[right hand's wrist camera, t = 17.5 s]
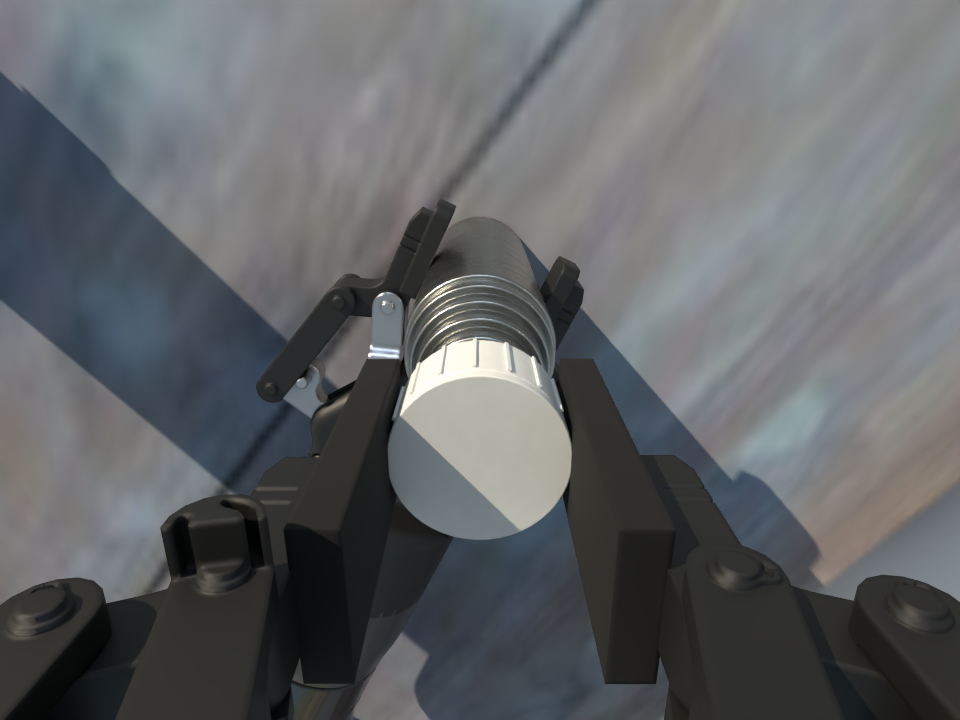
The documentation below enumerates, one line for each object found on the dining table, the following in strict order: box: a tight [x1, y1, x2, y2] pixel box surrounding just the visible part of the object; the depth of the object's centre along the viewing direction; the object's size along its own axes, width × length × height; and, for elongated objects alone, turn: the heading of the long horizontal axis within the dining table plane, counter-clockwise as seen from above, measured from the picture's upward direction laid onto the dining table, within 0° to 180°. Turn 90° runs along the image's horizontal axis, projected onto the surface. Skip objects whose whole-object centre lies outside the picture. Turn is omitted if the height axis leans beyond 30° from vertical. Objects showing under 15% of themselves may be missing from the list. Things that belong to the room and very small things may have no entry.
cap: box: [388, 338, 572, 540], centre depth 14 cm, size 4×4×2 cm
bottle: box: [404, 217, 556, 379], centre depth 22 cm, size 5×5×19 cm
